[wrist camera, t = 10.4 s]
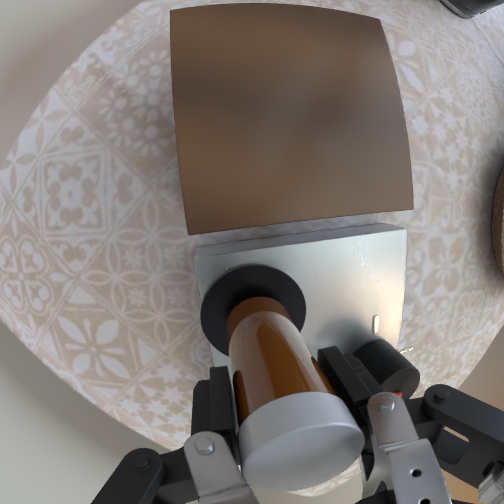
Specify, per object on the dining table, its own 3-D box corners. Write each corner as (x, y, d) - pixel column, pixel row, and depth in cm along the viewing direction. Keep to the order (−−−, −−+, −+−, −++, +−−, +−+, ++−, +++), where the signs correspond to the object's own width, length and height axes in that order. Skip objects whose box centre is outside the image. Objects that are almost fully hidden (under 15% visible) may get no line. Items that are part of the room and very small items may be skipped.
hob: (196, 246, 19) (192, 258, 15) (400, 220, 20) (424, 226, 17) (227, 405, 22) (230, 430, 19) (388, 367, 23) (404, 384, 20)
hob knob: (350, 347, 18) (378, 381, 14) (395, 333, 19) (428, 361, 15) (346, 387, 19) (369, 423, 15) (389, 373, 20) (415, 403, 16)
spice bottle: (219, 300, 15) (231, 442, 6) (288, 289, 15) (375, 407, 6) (229, 358, 16) (249, 500, 7) (292, 347, 16) (356, 473, 7)
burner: (191, 271, 16) (191, 273, 15) (301, 256, 16) (304, 257, 16) (210, 364, 17) (210, 367, 17) (306, 348, 18) (307, 351, 17)
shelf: (185, 73, 16) (169, 10, 8) (325, 68, 17) (380, 19, 9) (199, 215, 18) (187, 236, 10) (343, 199, 19) (414, 209, 11)
